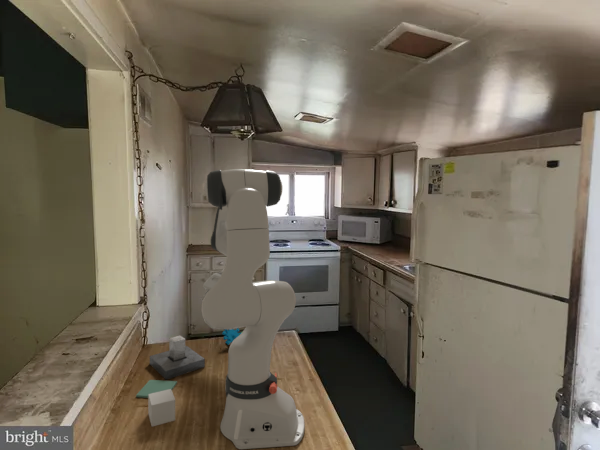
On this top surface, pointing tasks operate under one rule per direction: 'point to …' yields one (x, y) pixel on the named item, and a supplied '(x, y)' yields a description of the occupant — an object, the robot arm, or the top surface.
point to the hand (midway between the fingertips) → (209, 304)
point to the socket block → (176, 363)
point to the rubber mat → (155, 387)
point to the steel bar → (176, 348)
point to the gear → (230, 335)
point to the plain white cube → (161, 407)
